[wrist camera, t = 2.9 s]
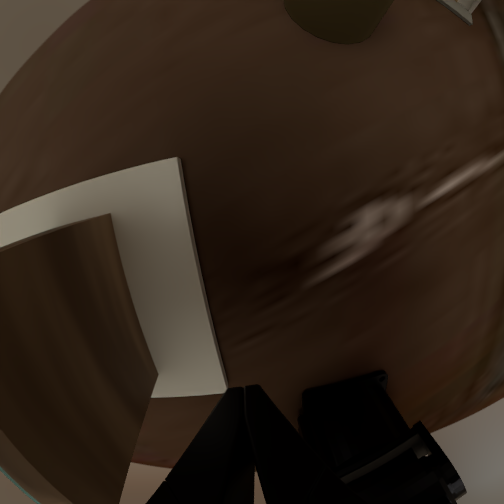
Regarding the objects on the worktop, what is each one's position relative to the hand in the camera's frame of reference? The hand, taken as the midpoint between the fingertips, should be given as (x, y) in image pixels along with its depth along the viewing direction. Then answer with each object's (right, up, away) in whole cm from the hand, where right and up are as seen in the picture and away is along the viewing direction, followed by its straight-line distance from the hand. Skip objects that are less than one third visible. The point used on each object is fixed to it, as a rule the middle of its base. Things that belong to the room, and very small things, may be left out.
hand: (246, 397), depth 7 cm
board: (-13, 0, +8) cm, 16 cm away
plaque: (-8, +1, +8) cm, 11 cm away
